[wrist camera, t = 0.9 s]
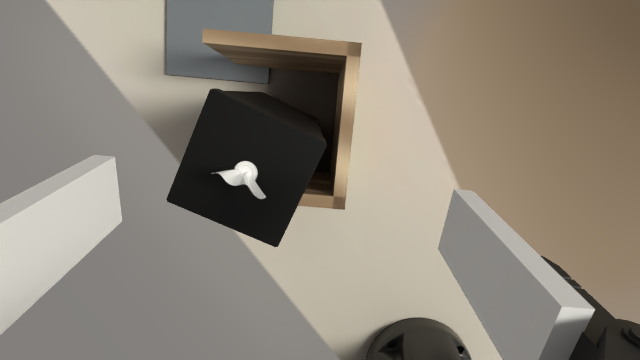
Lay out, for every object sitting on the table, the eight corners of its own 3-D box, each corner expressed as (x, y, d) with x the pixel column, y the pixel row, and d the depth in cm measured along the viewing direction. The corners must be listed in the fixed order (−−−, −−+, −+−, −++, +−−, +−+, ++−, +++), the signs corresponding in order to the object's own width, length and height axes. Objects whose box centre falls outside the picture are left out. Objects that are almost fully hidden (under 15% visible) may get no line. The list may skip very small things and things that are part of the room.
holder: (337, 182, 48) (344, 209, 34) (233, 173, 48) (197, 196, 34) (349, 65, 45) (361, 42, 32) (238, 55, 45) (202, 28, 31)
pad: (268, 83, 46) (267, 83, 45) (168, 74, 46) (166, 74, 45) (275, -25, 44) (274, -27, 43) (169, -35, 43) (167, -37, 43)
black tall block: (292, 170, 48) (272, 272, 21) (238, 146, 47) (142, 218, 20) (317, 117, 46) (331, 151, 19) (261, 90, 45) (193, 86, 18)
